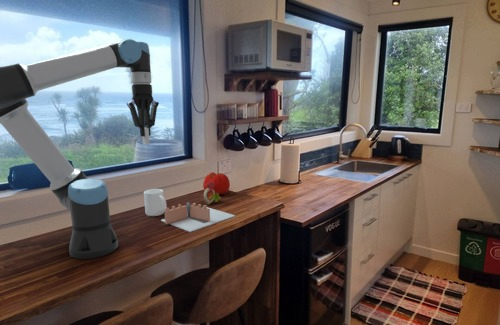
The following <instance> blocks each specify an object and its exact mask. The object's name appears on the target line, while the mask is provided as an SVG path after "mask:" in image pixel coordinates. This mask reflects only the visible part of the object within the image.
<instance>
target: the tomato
mask: <svg viewBox="0 0 500 325" xmlns="http://www.w3.org/2000/svg"><path fill="white" fill-rule="evenodd" d="M212 181H213V182H214V183H215V186H214V187H213V190H214V191H215V194H216V193H218V194H219V196H221V195H225V194H227V192H228V191H229V190H230V185H231V183H230V179H229V177H228V176H227V175H226V174H225V173H222V172H219V173H215V172H210V173H209V174H207V175H206V176H205V177H204V180H203V183H202V187H203V191H205V190H206V189H207V188H208V187H207V186H206V185H205V184H206V183H209V182H212Z"/></svg>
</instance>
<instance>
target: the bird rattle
mask: <svg viewBox="0 0 500 325" xmlns="http://www.w3.org/2000/svg"><path fill="white" fill-rule="evenodd" d="M205 185H206V186H207V187H208V188H207V189H206V190H203V191H204V192H203V199H204V201H205V202H206V204H207V205H211V203H213V202H215V203H218V201H219V200H221V198H222V197H221V195H219V194H218V193H216V194H215V191H214V190H213V187H214V186H215V183H214V182H213V181H212V182H209V183H206V184H205Z"/></svg>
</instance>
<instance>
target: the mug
mask: <svg viewBox="0 0 500 325" xmlns="http://www.w3.org/2000/svg"><path fill="white" fill-rule="evenodd" d="M143 201H144V211H145V212H144V213H145V214H146V216H148V217H157V216H161V215H164V214H165V212H164V211H166V208H167V200H166V199H165V197H164V189H161V188H151V189H150V188H149V189H147V190H144V191H143Z"/></svg>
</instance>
